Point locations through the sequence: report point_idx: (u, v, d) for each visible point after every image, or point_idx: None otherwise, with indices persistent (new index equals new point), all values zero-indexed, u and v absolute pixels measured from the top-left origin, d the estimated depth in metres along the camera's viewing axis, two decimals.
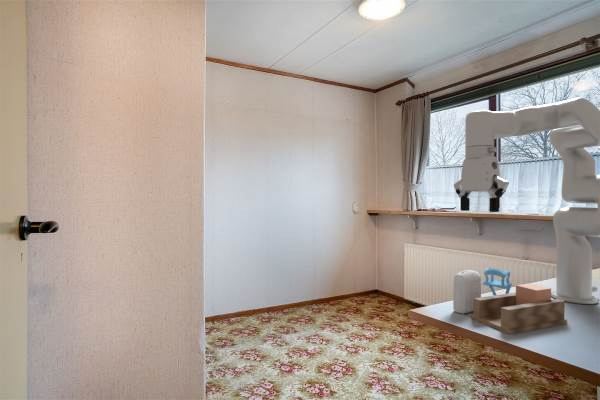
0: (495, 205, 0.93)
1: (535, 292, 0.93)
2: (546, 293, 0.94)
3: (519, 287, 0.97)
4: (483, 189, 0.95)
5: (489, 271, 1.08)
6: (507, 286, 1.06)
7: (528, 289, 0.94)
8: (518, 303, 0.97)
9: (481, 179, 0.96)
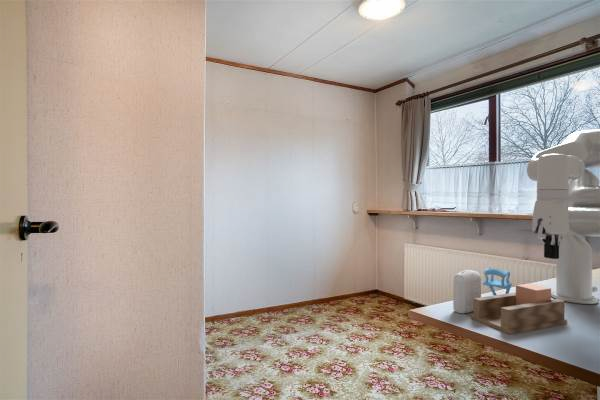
0: None
1: (535, 292, 0.93)
2: (546, 293, 0.94)
3: (519, 287, 0.97)
4: (565, 232, 0.98)
5: (489, 271, 1.08)
6: (507, 286, 1.06)
7: (528, 289, 0.94)
8: (518, 303, 0.97)
9: (565, 223, 0.97)
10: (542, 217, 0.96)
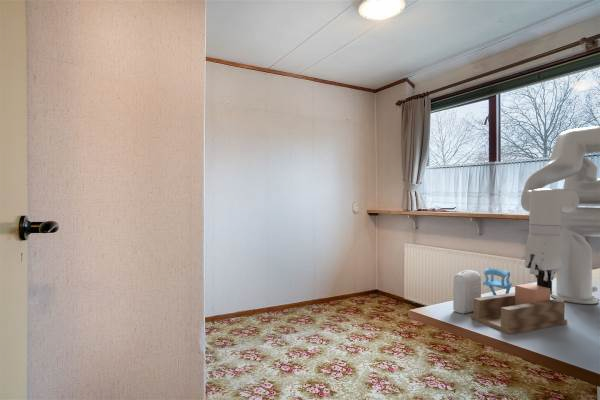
0: None
1: (534, 292, 0.93)
2: (545, 293, 0.94)
3: (518, 287, 0.97)
4: (558, 268, 0.97)
5: (489, 271, 1.08)
6: (507, 286, 1.06)
7: (527, 289, 0.94)
8: (517, 304, 0.97)
9: (558, 258, 0.97)
10: (535, 253, 0.95)
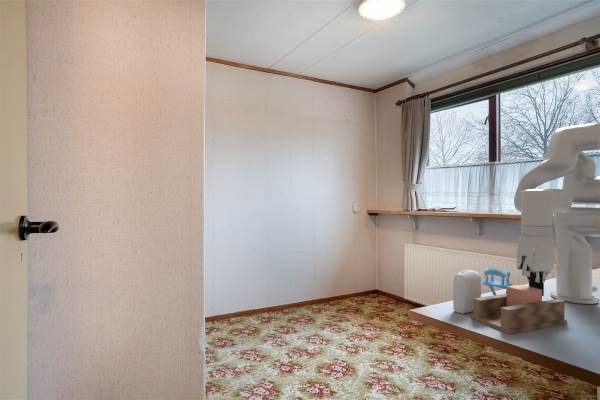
0: None
1: (526, 293, 0.91)
2: (536, 294, 0.92)
3: (510, 288, 0.96)
4: (550, 269, 0.96)
5: (489, 271, 1.08)
6: None
7: (519, 290, 0.93)
8: (509, 305, 0.96)
9: (550, 259, 0.95)
10: (526, 254, 0.94)
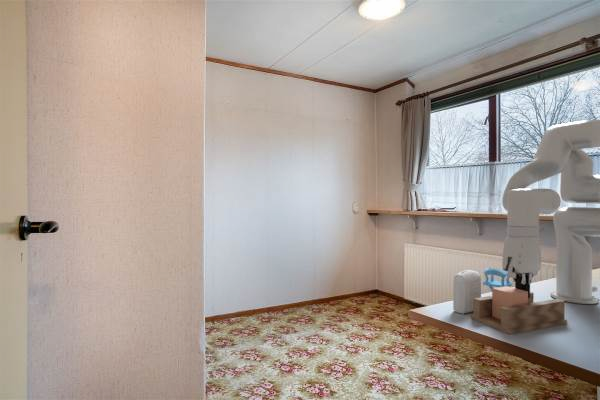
0: None
1: (511, 295, 0.89)
2: (522, 296, 0.90)
3: (495, 290, 0.94)
4: (536, 270, 0.94)
5: (489, 271, 1.08)
6: None
7: (504, 292, 0.91)
8: (494, 307, 0.94)
9: (537, 260, 0.93)
10: (512, 255, 0.92)
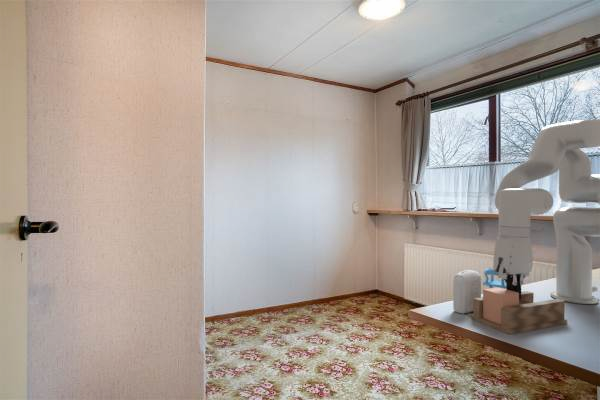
0: None
1: (501, 297, 0.88)
2: (513, 297, 0.89)
3: (486, 291, 0.92)
4: (528, 271, 0.93)
5: (489, 271, 1.08)
6: None
7: (495, 293, 0.90)
8: (485, 308, 0.93)
9: (528, 261, 0.92)
10: (503, 256, 0.91)
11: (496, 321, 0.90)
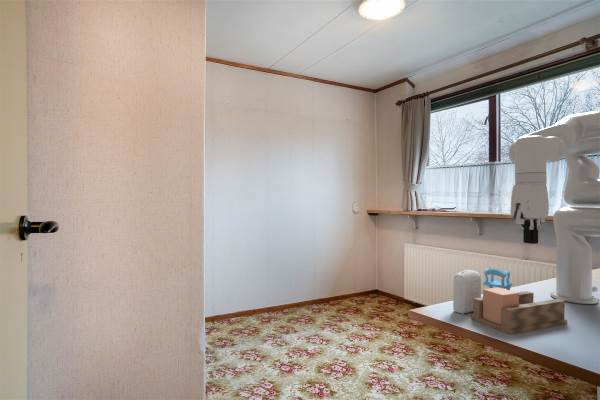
0: None
1: (501, 297, 0.88)
2: (513, 297, 0.89)
3: (486, 291, 0.92)
4: (544, 216, 0.95)
5: (489, 271, 1.08)
6: (507, 286, 1.06)
7: (495, 293, 0.90)
8: (485, 309, 0.93)
9: (544, 206, 0.95)
10: (520, 202, 0.94)
11: (496, 321, 0.89)
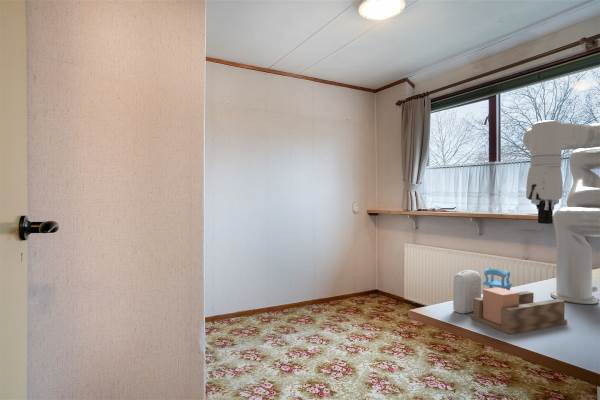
0: None
1: (501, 297, 0.88)
2: (513, 297, 0.89)
3: (486, 291, 0.92)
4: (558, 198, 1.00)
5: (489, 271, 1.08)
6: (507, 286, 1.06)
7: (495, 293, 0.90)
8: (485, 309, 0.93)
9: (559, 188, 0.99)
10: (536, 183, 0.98)
11: (496, 321, 0.89)
